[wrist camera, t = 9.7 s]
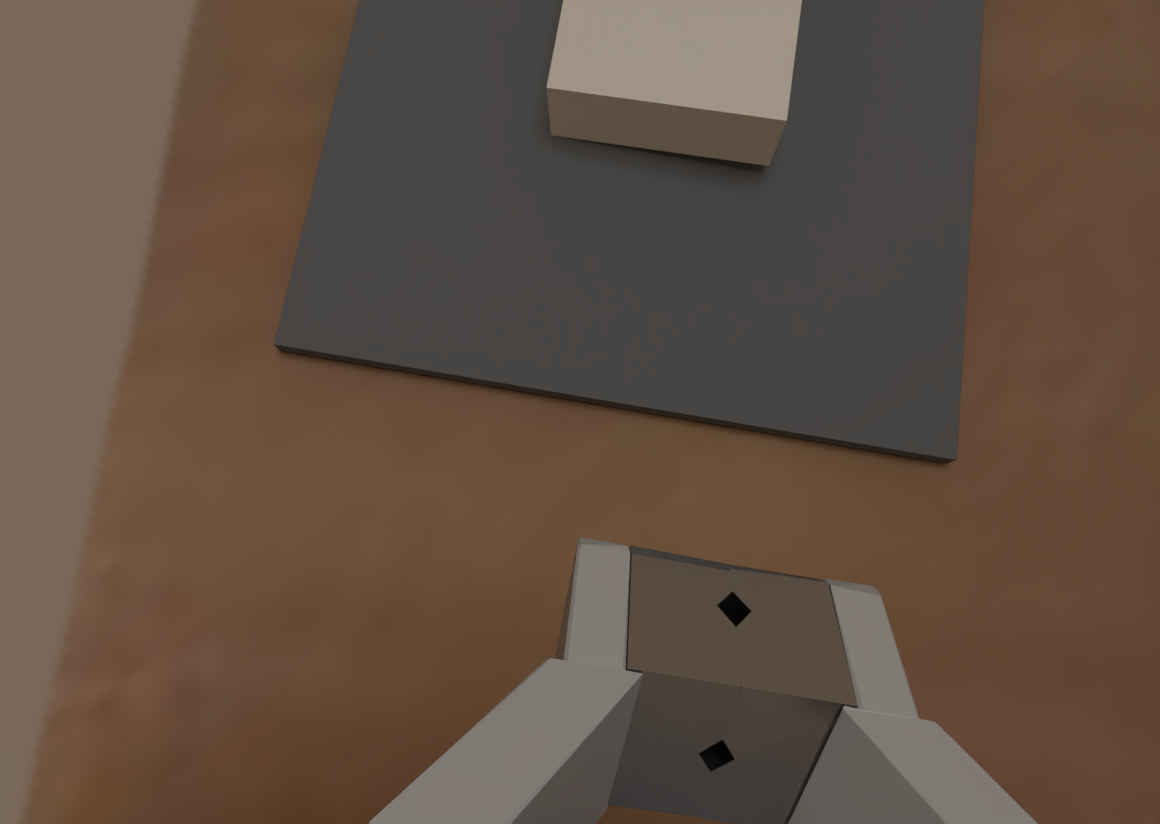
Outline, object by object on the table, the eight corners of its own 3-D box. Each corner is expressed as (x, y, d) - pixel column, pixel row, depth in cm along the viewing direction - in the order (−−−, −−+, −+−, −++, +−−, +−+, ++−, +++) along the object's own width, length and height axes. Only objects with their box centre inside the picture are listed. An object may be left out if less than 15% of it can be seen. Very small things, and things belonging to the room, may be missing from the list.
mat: (985, -166, 30) (995, -182, 29) (946, 463, 25) (956, 459, 24) (433, -272, 29) (431, -289, 29) (279, 350, 24) (274, 344, 24)
